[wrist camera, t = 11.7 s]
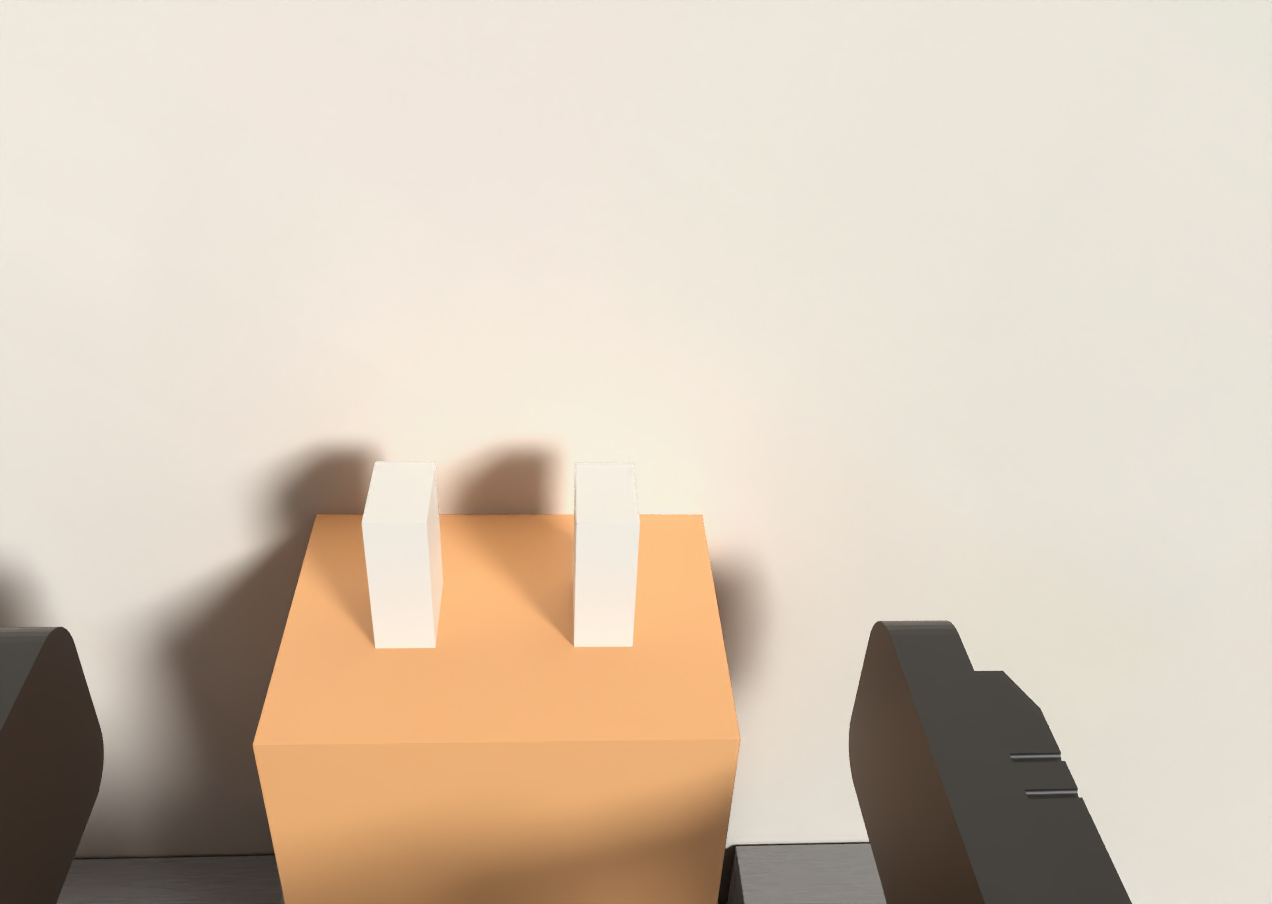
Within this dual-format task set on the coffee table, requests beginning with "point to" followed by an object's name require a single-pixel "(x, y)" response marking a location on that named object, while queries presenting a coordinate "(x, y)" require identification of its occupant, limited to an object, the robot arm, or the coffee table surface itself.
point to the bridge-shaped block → (253, 900)
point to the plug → (500, 705)
